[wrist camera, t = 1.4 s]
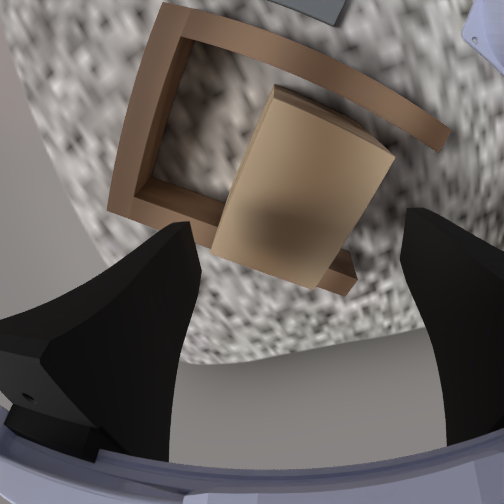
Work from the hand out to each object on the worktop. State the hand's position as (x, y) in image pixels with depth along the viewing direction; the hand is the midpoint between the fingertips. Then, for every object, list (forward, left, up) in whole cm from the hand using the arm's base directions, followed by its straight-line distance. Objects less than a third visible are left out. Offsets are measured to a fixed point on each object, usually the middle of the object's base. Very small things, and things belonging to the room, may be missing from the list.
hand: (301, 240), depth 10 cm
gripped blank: (0, 0, -9) cm, 9 cm away
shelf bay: (+1, 0, -9) cm, 9 cm away
